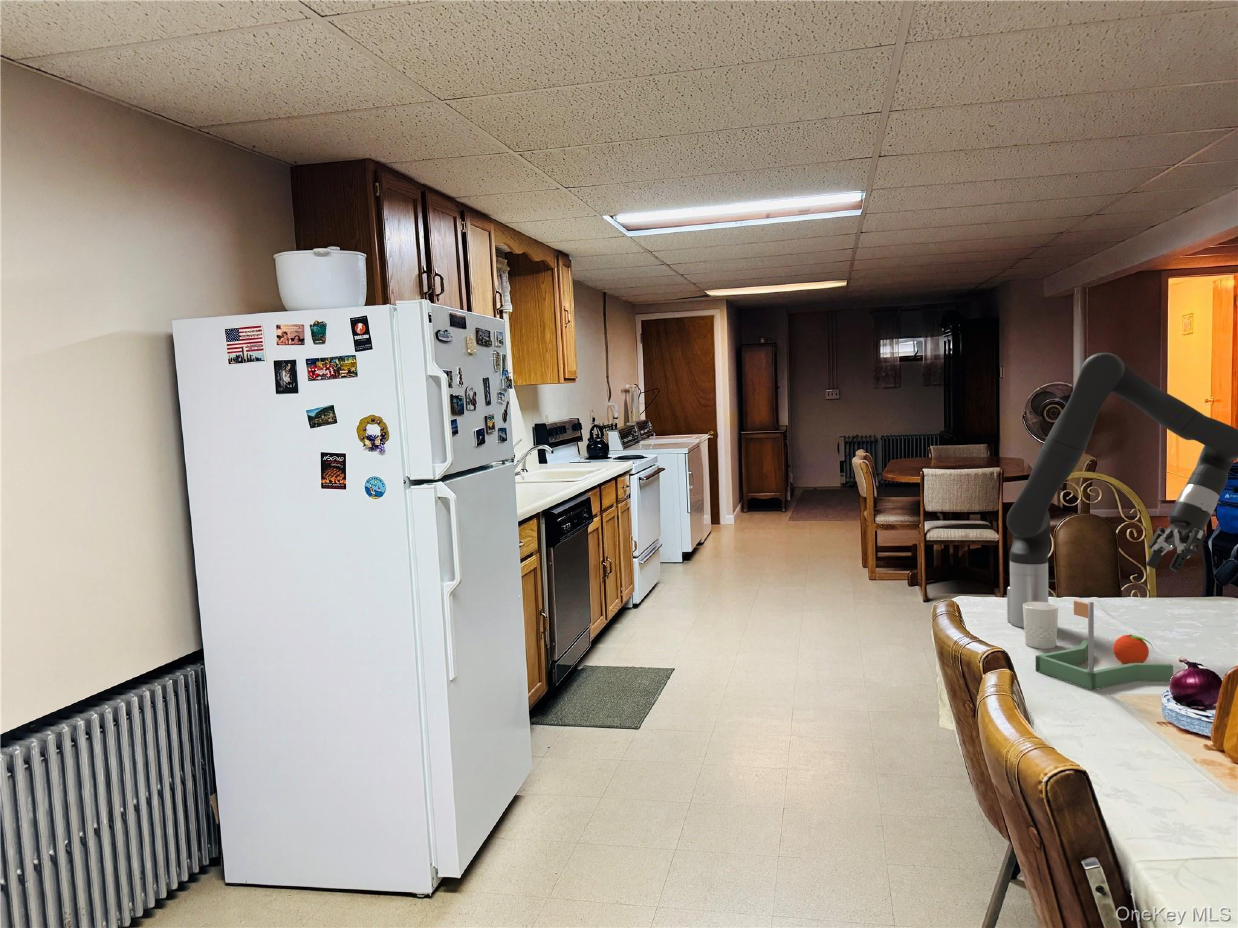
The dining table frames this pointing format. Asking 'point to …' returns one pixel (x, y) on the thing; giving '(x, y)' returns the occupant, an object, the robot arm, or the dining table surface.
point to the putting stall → (1064, 660)
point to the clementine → (1131, 649)
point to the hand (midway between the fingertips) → (1161, 568)
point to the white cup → (1040, 624)
